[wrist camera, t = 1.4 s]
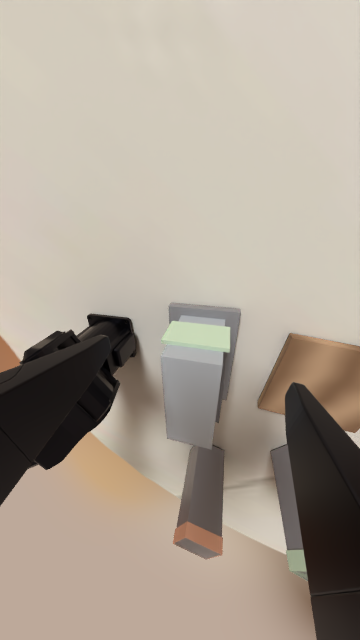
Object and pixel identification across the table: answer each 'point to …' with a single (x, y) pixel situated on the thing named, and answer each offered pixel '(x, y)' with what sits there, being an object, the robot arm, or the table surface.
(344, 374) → the walnut pad
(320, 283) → the table surface
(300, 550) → the block
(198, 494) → the block
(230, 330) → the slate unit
